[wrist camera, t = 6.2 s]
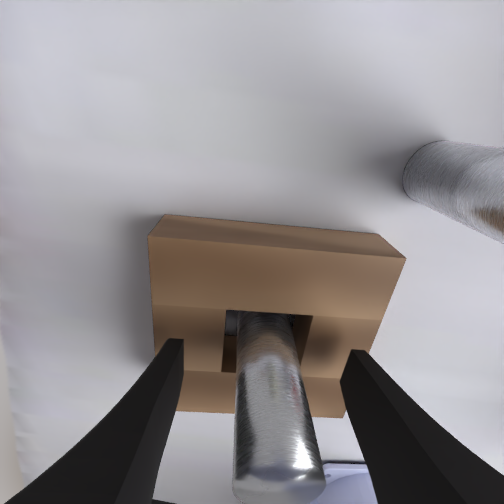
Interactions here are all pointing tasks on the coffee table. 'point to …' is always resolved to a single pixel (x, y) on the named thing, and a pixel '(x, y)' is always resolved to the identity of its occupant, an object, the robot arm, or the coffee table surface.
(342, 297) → the socket block
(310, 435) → the pin medium
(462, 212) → the pin long
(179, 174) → the coffee table surface
